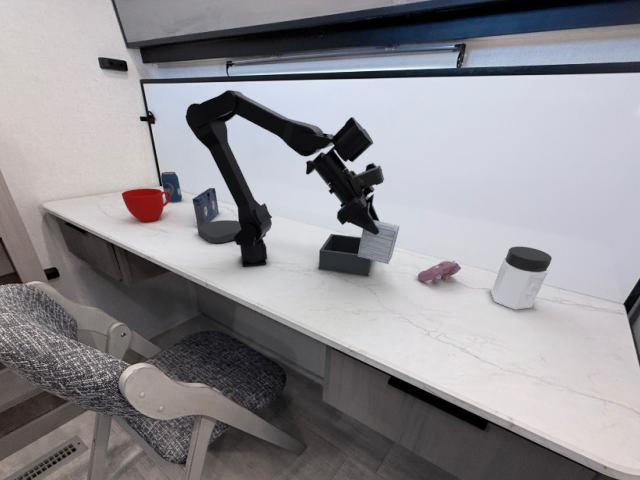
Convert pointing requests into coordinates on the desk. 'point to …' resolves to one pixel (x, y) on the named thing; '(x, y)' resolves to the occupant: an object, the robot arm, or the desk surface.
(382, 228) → the medicine box
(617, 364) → the desk surface
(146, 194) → the ceramic cup
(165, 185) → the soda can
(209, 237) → the media streaming box
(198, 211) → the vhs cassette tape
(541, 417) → the desk surface
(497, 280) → the jar
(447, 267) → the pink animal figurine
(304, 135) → the robot arm
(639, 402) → the desk surface
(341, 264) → the storage bin
